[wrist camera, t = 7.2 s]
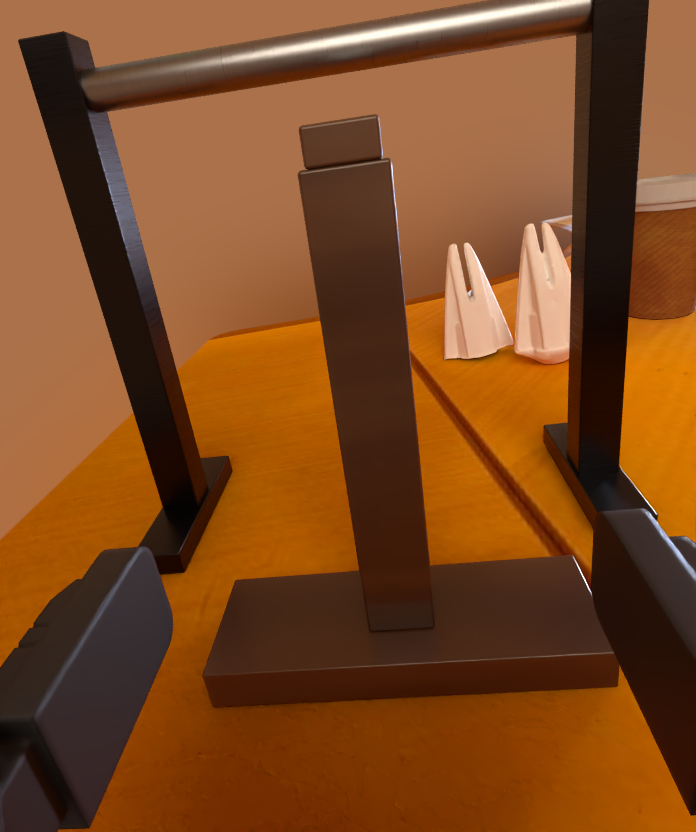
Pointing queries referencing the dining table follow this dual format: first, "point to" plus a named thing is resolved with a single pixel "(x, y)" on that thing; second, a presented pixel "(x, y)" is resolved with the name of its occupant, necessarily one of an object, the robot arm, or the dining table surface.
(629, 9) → the rack
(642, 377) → the dining table surface
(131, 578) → the robot arm
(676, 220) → the disposable coffee cup
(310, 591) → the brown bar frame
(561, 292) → the shaker set
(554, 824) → the dining table surface
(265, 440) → the dining table surface
